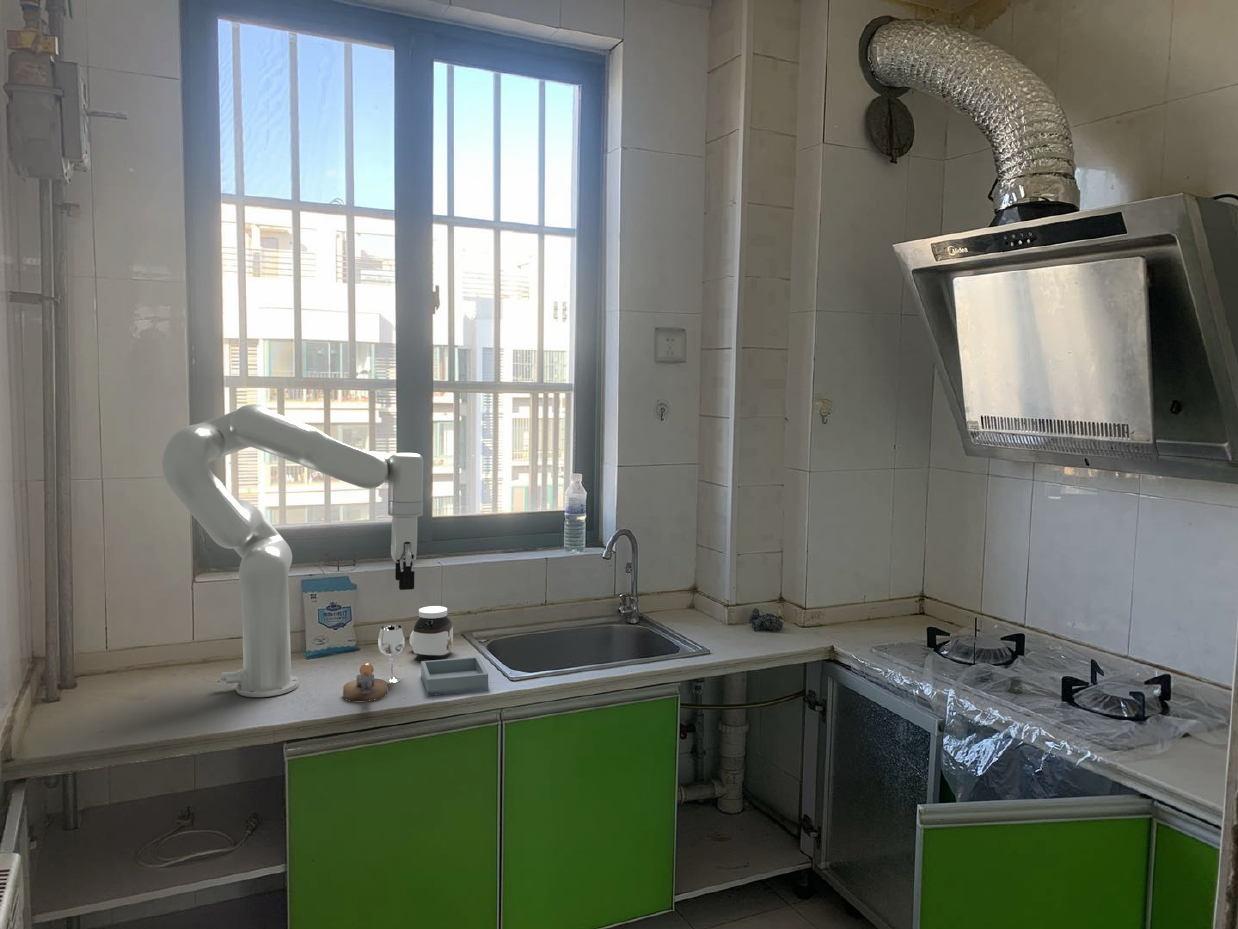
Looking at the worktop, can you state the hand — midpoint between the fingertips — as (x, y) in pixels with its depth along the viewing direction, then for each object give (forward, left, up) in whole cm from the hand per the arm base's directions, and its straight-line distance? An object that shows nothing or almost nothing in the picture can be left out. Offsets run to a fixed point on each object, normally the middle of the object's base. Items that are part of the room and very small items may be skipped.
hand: (404, 584), depth 195 cm
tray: (+10, -6, -22) cm, 25 cm away
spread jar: (+7, +17, -22) cm, 28 cm away
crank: (-9, -12, -19) cm, 24 cm away
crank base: (-9, -8, -22) cm, 25 cm away
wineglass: (-3, 0, -22) cm, 22 cm away
